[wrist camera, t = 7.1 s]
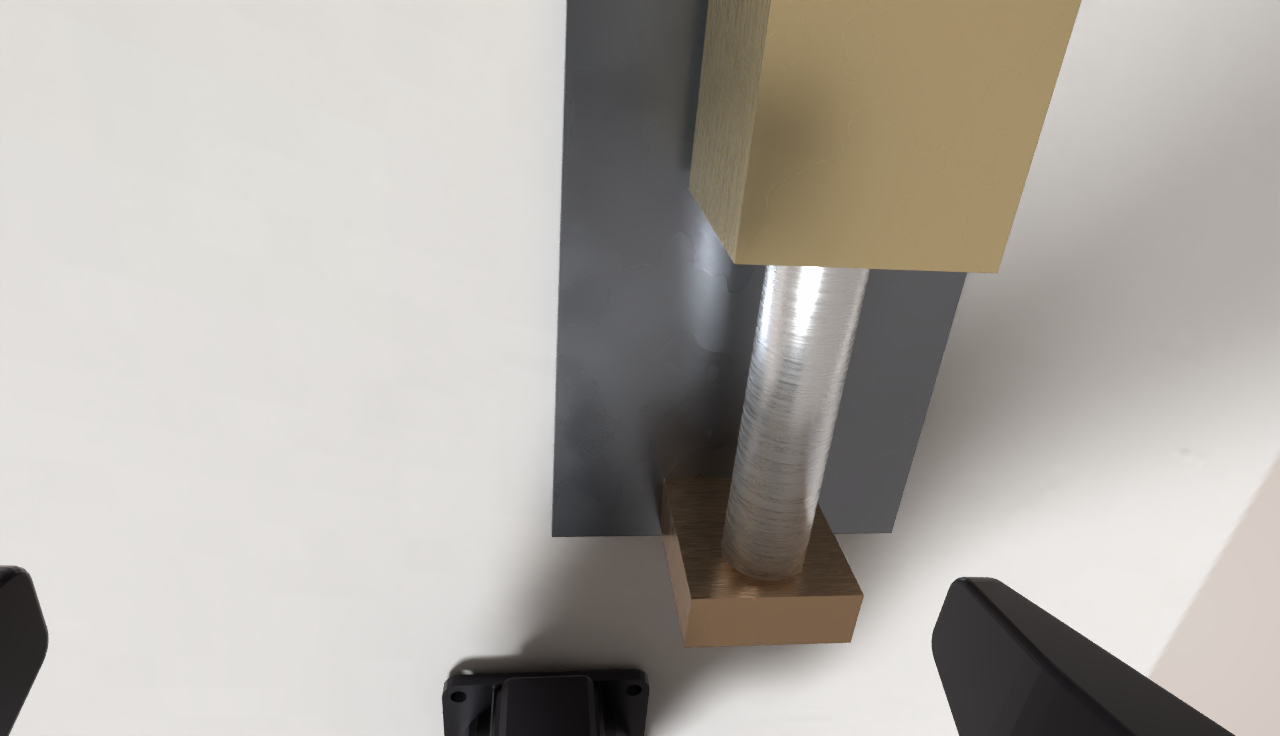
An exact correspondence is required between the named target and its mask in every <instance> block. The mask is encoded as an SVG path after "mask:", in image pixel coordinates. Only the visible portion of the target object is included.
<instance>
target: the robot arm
mask: <svg viewBox="0 0 1280 736" xmlns="http://www.w3.org/2000/svg"><path fill="white" fill-rule="evenodd" d="M47 649H48V630H47V626H46V623H45V620H44V617H43V613H42V610H41V607H40V604H39V600H38V597H37V594H36V591H35V588H34V584H33V581H32V578H31V576H30V574H29V573H28V572H27V571H26V570H25V569H23V568H21V567H18V566H0V736H9V734H10V732H11V730H12V728H13V726H14V723H15V721H16V719H17V717H18V715H19V713H20V711H21V708H22V706H23V704H24V702H25V700H26V698H27V696H28V694H29V691H30V689H31V687H32V685H33V683H34V681H35V679H36V677H37V674H38V672H39V670H40V668H41V666H42V664H43V661H44V659H45V656H46V652H47ZM932 652H933V656H934V660H935V663H936V666H937V669H938V672H939V675H940V678H941V681H942V684H943V688H944V691H945V694H946V697H947V700H948V703H949V706H950V709H951V712H952V715H953V718H954V721H955V724H956V727H957V730H958V733H959V736H1235V735H1234V734H1232V733H1230V732H1229V731H1227V730H1226V729H1224V728H1223V727H1222V726H1220V725H1218V724H1217V723H1215V722H1214V721H1212V720H1211V719H1209V718H1208V717H1206V716H1204V715H1203V714H1202V713H1200V712H1199V711H1197V710H1196V709H1194V708H1193V707H1191V706H1190V705H1188V704H1186V703H1185V702H1183V701H1182V700H1180V699H1179V698H1177V697H1176V696H1174V695H1173V694H1171V693H1169V692H1168V691H1166V690H1165V689H1164V688H1162V687H1161V686H1159V685H1157V684H1156V683H1154V682H1153V681H1151V680H1150V679H1148V678H1147V677H1145V676H1144V675H1142V674H1141V673H1139V672H1138V671H1136V670H1135V669H1133V668H1132V667H1130V666H1129V665H1127V664H1125V663H1124V662H1122V661H1121V660H1119V659H1118V658H1116V657H1115V656H1113V655H1112V654H1110V653H1109V652H1107V651H1106V650H1104V649H1103V648H1101V647H1100V646H1098V645H1097V644H1095V643H1093V642H1092V641H1090V640H1089V639H1087V638H1086V637H1084V636H1083V635H1081V634H1080V633H1078V632H1077V631H1075V630H1074V629H1072V628H1071V627H1069V626H1068V625H1066V624H1065V623H1063V622H1061V621H1060V620H1058V619H1057V618H1055V617H1054V616H1052V615H1051V614H1049V613H1048V612H1046V611H1045V610H1043V609H1042V608H1040V607H1039V606H1037V605H1036V604H1034V603H1033V602H1031V601H1029V600H1028V599H1026V598H1025V597H1023V596H1022V595H1020V594H1019V593H1017V592H1016V591H1014V590H1013V589H1011V588H1010V587H1008V586H1007V585H1005V584H1004V583H1002V582H1000V581H999V580H997V579H994V578H989V577H961V578H958V579H956V580H955V581H954V582H953V583H952V584H951V586H950V588H949V590H948V593H947V596H946V598H945V601H944V604H943V606H942V609H941V612H940V614H939V617H938V619H937V622H936V625H935V627H934V630H933V634H932ZM458 691H461V692H458ZM648 696H649V684H648V678H647V675H646V674H645V672H643V671H641V670H636V669H626V670H596V671H567V672H537V673H508V674H478V675H457V676H452V677H450V678H448V679H447V680H446V681H445V683H444V687H443V695H442V704H443V720H444V735H445V736H644V730H645V722H646V713H647V705H648Z"/></svg>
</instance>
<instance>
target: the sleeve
mask: <svg viewBox="0 0 1280 736" xmlns="http://www.w3.org/2000/svg"><path fill="white" fill-rule="evenodd" d="M1080 3H1081V0H709V2H708V11H707V21H706V30H705V40H704V49H703V59H702V68H701V78H700V87H699V96H698V106H697V115H696V125H695V134H694V144H693V153H692V163H691V172H690V182H689V190H690V192H691V194H692V195H693V197H694V199H695V200H696V202H697V203H698V205H699V207H700V208H701V210H702V212H703V213H704V215H705V217H706V218H707V220H708V222H709V223H710V225H711V227H712V228H713V230H714V231H715V233H716V235H717V236H718V238H719V240H720V241H721V243H722V245H723V246H724V248H725V250H726V251H727V253H728V254H729V256H730V258H731V259H732V261H733V263H734V264H747V265H776V266H804V267H833V268H862V269H890V270H919V271H947V272H976V273H997V272H998V269H999V266H1000V263H1001V259H1002V256H1003V253H1004V250H1005V246H1006V243H1007V240H1008V237H1009V233H1010V230H1011V227H1012V224H1013V221H1014V217H1015V214H1016V211H1017V208H1018V204H1019V201H1020V198H1021V195H1022V191H1023V188H1024V185H1025V182H1026V178H1027V175H1028V172H1029V169H1030V165H1031V162H1032V159H1033V156H1034V152H1035V149H1036V146H1037V143H1038V139H1039V136H1040V133H1041V130H1042V126H1043V123H1044V120H1045V117H1046V113H1047V110H1048V107H1049V104H1050V101H1051V97H1052V94H1053V91H1054V88H1055V84H1056V81H1057V78H1058V75H1059V71H1060V68H1061V65H1062V62H1063V58H1064V55H1065V52H1066V49H1067V45H1068V42H1069V39H1070V36H1071V32H1072V29H1073V26H1074V23H1075V19H1076V16H1077V13H1078V10H1079V6H1080Z"/></svg>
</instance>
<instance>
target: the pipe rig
mask: <svg viewBox="0 0 1280 736" xmlns="http://www.w3.org/2000/svg"><path fill="white" fill-rule="evenodd" d="M708 2H709V0H567V2H566V38H565V73H564V108H563V144H562V179H561V215H560V250H559V286H558V321H557V357H556V392H555V428H554V463H553V498H552V537H585V536H662V537H663V542H664V547H665V552H666V557H667V562H668V567H669V572H670V577H671V582H672V587H673V592H674V597H675V602H676V607H677V613H678V618H679V623H680V628H681V633H682V638H683V643H684V647H717V646H750V645H783V644H816V643H849V642H851V639H852V635H853V632H854V628H855V624H856V621H857V617H858V614H859V610H860V607H861V603H862V599H863V596H864V595H863V593H862V591H861V589H860V587H859V585H858V583H857V581H856V579H855V577H854V575H853V573H852V571H851V569H850V567H849V565H848V563H847V561H846V559H845V557H844V554H843V552H842V550H841V548H840V546H839V544H838V542H837V540H836V538H835V536H834V534H848V533H892V529H893V526H894V522H895V519H896V515H897V512H898V508H899V505H900V501H901V498H902V495H903V491H904V488H905V484H906V481H907V477H908V474H909V470H910V467H911V463H912V460H913V456H914V453H915V449H916V446H917V443H918V439H919V436H920V432H921V429H922V425H923V422H924V418H925V415H926V411H927V408H928V404H929V401H930V398H931V394H932V391H933V387H934V384H935V380H936V377H937V373H938V370H939V366H940V363H941V359H942V356H943V352H944V349H945V346H946V342H947V339H948V335H949V332H950V328H951V325H952V321H953V318H954V314H955V311H956V307H957V304H958V301H959V297H960V294H961V290H962V287H963V283H964V280H965V276H966V273H967V272H947V271H919V270H890V269H862V268H833V267H804V266H776V265H747V264H734V263H733V261H732V259H731V258H730V256H729V254H728V253H727V251H726V250H725V248H724V246H723V245H722V243H721V241H720V240H719V238H718V236H717V235H716V233H715V231H714V230H713V228H712V227H711V225H710V223H709V222H708V220H707V218H706V217H705V215H704V213H703V212H702V210H701V208H700V207H699V205H698V203H697V202H696V200H695V199H694V197H693V195H692V194H691V192H690V190H689V182H690V172H691V163H692V153H693V144H694V134H695V125H696V115H697V106H698V96H699V87H700V78H701V68H702V59H703V49H704V40H705V30H706V21H707V11H708Z"/></svg>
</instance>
